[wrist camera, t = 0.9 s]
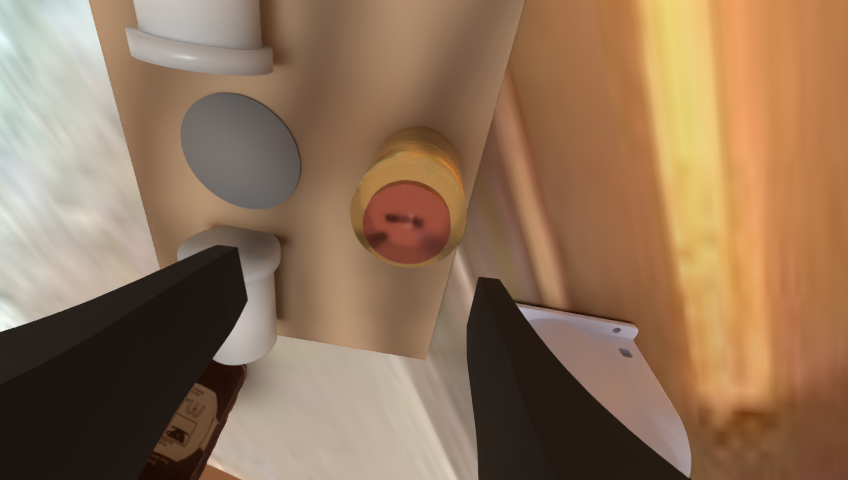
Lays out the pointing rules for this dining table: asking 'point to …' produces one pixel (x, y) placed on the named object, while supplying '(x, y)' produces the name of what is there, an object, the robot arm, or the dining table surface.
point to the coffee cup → (196, 425)
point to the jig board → (324, 145)
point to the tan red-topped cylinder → (411, 200)
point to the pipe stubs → (228, 55)
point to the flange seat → (240, 150)
